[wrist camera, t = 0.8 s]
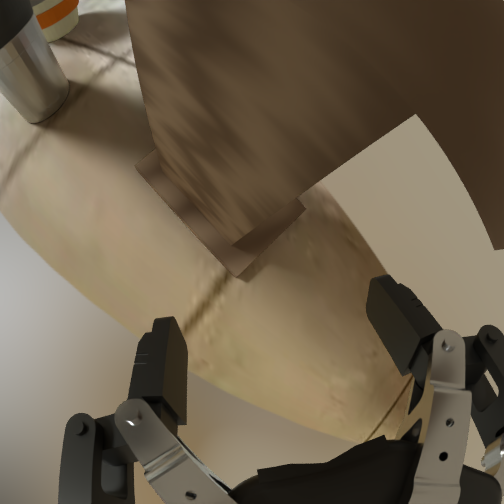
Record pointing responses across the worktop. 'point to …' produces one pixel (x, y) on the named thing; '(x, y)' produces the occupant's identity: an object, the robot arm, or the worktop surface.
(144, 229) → the worktop surface
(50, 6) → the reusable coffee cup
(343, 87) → the stand
